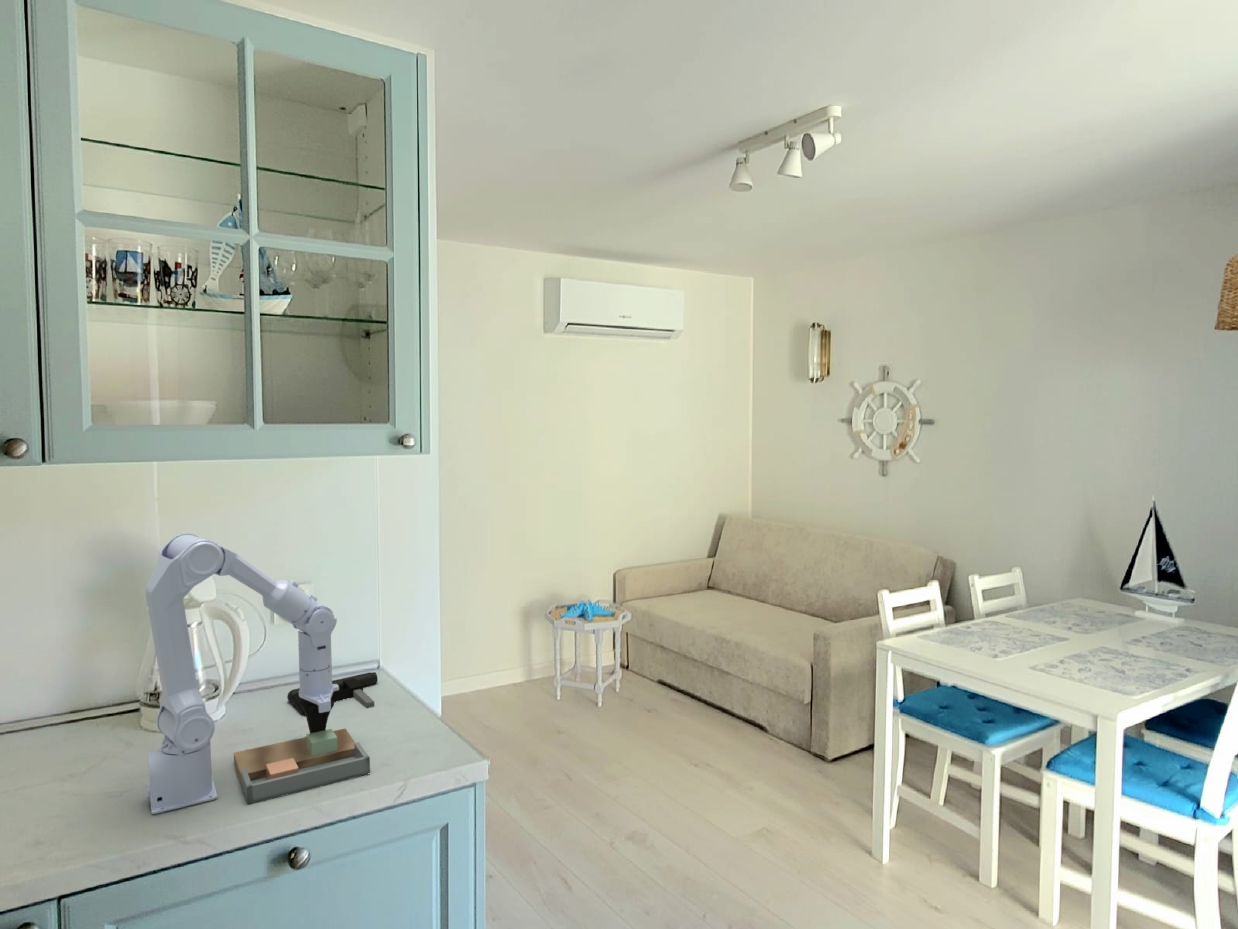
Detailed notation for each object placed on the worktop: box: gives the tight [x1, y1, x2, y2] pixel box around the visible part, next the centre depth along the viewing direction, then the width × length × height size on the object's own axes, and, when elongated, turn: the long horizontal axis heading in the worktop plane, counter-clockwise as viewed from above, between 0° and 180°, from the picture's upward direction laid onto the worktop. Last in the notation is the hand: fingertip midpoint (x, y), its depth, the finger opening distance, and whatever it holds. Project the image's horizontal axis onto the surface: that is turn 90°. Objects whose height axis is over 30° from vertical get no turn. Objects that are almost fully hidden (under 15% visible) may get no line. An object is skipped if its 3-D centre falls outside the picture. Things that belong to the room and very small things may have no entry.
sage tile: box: [305, 728, 338, 756], centre depth 146 cm, size 4×4×2 cm
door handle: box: [286, 671, 378, 717], centre depth 174 cm, size 3×20×16 cm
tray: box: [240, 742, 371, 805], centre depth 138 cm, size 20×7×3 cm, turn 123°
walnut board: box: [233, 727, 356, 784], centre depth 145 cm, size 20×10×2 cm, turn 123°
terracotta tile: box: [266, 758, 299, 780], centre depth 137 cm, size 4×4×2 cm
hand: (317, 736), depth 148 cm, fingers closed
